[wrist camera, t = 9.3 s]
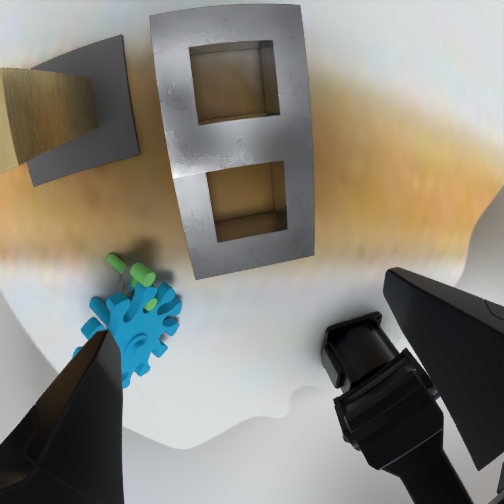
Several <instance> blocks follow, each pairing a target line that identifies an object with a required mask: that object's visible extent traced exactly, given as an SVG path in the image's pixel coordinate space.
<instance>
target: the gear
mask: <svg viewBox="0 0 504 504" xmlns="http://www.w3.org/2000/svg"><path fill="white" fill-rule="evenodd" d="M107 262H108V263H109V264H110V265H111V266H113V267H114V268H115V269H116V270H117V271H118V272H119V273H120V274H121V278H120V282H119V286H118V289H117V293H115V294H113V295H111V296H110V297H108V298H107V300H106V305H107V307H108V308H109V309H108V308H107V307H106V306H105V305H104V304H103V303H102V302H101V301H100V300H99V299H98V298H94V299H92V300H91V301H90V304H89V306H90V308H91V309H92V310H93V311H94V312H95V313H96V315H97V316H98V317H99V318H100V319H101V320H102V321H103V322H104V323H105V324H106V326H107V327H108V328H107V330H109V331H110V332H111V333H112V335H113V337H114V339H115V340H116V342H117V344H118V346H119V348H120V351H121V367H122V387H123V388H126V387H128V385H129V384H130V378H131V375H132V373H133V372H134V371H135V372H136V373H137V374H138V375H139V376H142V375H144V374H145V373H147V372H148V371H149V370H150V366H149V364H148V359H149V355H150V353H151V352H152V353H153V354H154V355H155V356H157V357H158V358H159V357H160V356H162V355H163V353H164V352H165V351H166V350H167V349H168V347H167V346H166V345H165V344H164V343H163V342H162V341H161V340H159V338H160V336H161V334H162V333H163V332H165V333H167V334H168V335H169V336H173V335H174V334H175V332H176V331H177V329H178V327H179V325H180V324H179V323H177V322H176V321H175V320H174V319H173V318H168V319H167V320H164V319H165V317H167V316H168V315H172V316H176V315H178V314H179V313H180V311H181V307H182V302H181V301H180V300H178V299H177V298H176V297H175V291H174V289H173V288H172V287H171V286H169V285H168V284H167V283H165V282H162V283H161V284H160V285H159V286H158V288H156V287H154V286H153V285H152V283H153V282H154V280H155V277H156V275H155V273H153V272H152V271H151V270H150V269H148V268H147V267H146V266H145V265H143V264H142V263H141V262H137V263H135V264H134V265H130V266H127V265H126V264H124V263H123V262H122V261H121V260H120V259H119V258H118V257H117V256H115V255H114V254H110V255H109V256H108V258H107ZM162 304H163V305H162ZM163 320H164V321H163ZM100 330H105V328H104V326H103V325H102V324H101V323H100V322H99V321H98V320H97V319H96V318H95V317H92V318H91V319H89V320H88V321H87V322H86V323H85V324H84V326H83V327H82V328H81V332H82V333H83V334H84V336H85V337H86V338H87V339H88V340H89V339H90V338H91V337H92V336H93V335H94V334H95V333H96V332H97V331H100ZM81 348H82V347H78V348H76V350H75V352H74V354H73V357H74V356H75V355H76V354H77V353H78V352H79V351H80V349H81ZM73 357H72V359H73Z"/></svg>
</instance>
